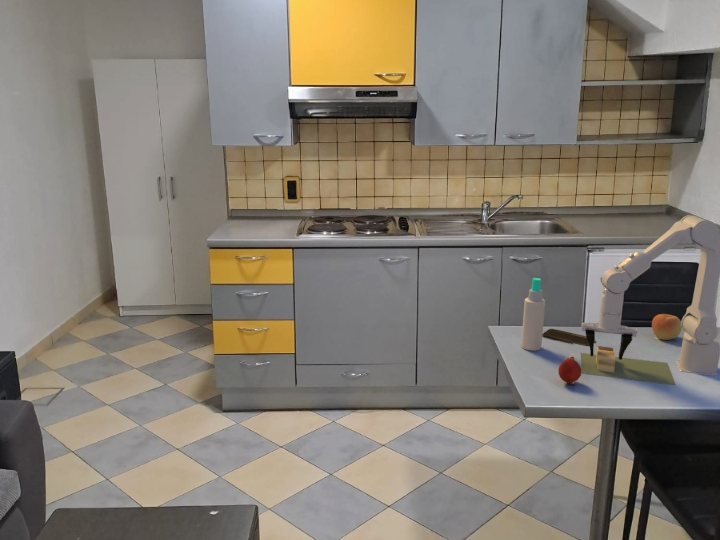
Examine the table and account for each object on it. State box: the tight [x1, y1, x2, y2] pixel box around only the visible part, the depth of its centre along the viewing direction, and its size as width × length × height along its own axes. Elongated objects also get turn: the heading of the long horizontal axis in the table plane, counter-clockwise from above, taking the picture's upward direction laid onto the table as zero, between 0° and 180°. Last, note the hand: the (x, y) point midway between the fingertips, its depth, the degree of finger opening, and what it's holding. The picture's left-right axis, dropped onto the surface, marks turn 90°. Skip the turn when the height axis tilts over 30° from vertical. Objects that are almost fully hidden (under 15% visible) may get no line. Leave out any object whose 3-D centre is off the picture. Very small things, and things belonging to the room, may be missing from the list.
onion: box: [558, 355, 582, 385], centre depth 173 cm, size 6×6×8 cm
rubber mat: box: [580, 352, 677, 386], centre depth 183 cm, size 24×16×1 cm, turn 73°
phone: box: [542, 328, 596, 347], centre depth 207 cm, size 8×1×15 cm
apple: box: [651, 313, 682, 341], centre depth 207 cm, size 9×9×8 cm
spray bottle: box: [520, 277, 546, 352], centre depth 196 cm, size 6×6×22 cm
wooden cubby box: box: [596, 345, 616, 373], centre depth 185 cm, size 10×4×4 cm, turn 162°
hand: (605, 356), depth 185 cm, fingers open, 7 cm apart
